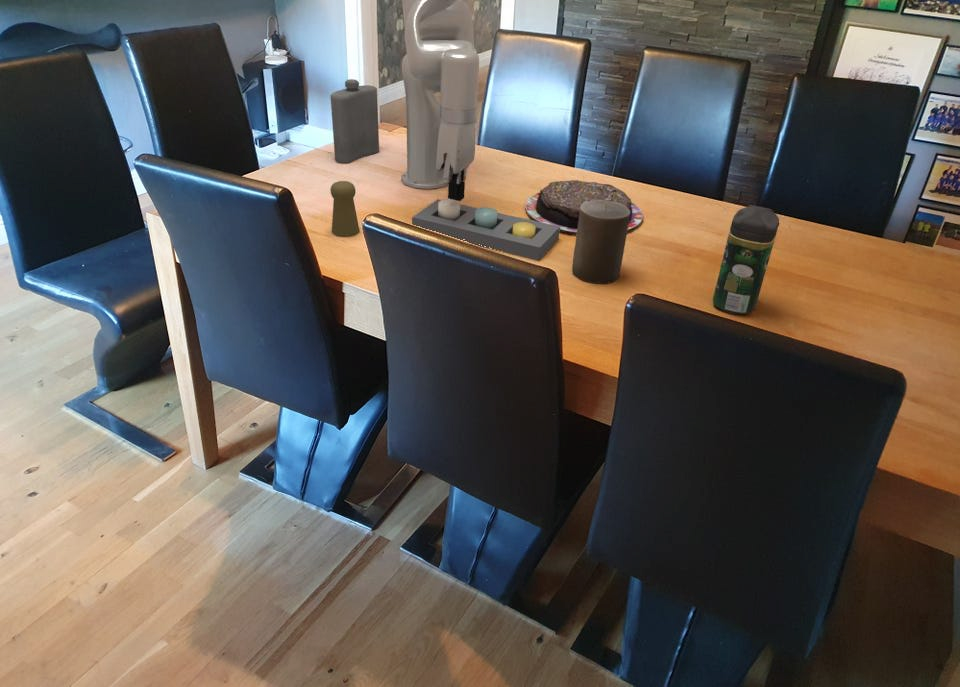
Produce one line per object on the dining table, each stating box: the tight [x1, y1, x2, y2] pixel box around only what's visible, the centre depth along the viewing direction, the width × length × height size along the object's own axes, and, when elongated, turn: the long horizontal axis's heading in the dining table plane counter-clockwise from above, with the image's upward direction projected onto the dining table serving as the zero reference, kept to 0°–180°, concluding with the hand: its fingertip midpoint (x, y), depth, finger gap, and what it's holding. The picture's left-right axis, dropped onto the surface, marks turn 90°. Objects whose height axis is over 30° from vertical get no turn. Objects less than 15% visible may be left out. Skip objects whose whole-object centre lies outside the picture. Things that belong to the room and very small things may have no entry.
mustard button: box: [512, 222, 536, 239], centre depth 152 cm, size 5×5×3 cm
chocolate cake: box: [524, 179, 644, 236], centre depth 168 cm, size 28×28×7 cm
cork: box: [329, 180, 361, 238], centre depth 152 cm, size 6×6×11 cm
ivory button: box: [438, 198, 461, 221], centre depth 158 cm, size 5×5×3 cm
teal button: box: [475, 206, 498, 230], centre depth 155 cm, size 5×5×3 cm
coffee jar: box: [712, 204, 781, 315], centre depth 130 cm, size 10×8×19 cm
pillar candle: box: [571, 200, 630, 284], centre depth 140 cm, size 10×10×15 cm
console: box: [411, 198, 561, 261], centre depth 156 cm, size 12×30×3 cm, turn 65°
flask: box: [329, 78, 380, 165], centre depth 191 cm, size 15×6×20 cm, turn 144°
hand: (456, 198), depth 156 cm, fingers closed
